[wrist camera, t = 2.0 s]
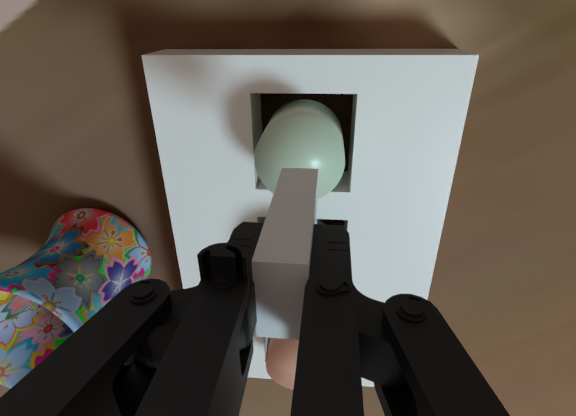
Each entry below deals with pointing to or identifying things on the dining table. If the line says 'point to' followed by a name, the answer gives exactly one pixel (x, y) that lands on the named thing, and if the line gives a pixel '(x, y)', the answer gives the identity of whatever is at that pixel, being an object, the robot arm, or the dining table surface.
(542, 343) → the dining table surface
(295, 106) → the sage button
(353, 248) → the panel
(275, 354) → the terracotta button
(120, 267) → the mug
